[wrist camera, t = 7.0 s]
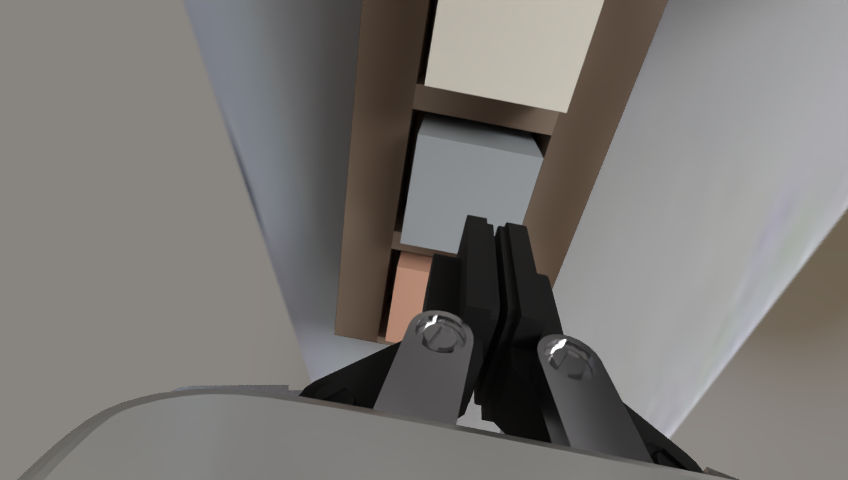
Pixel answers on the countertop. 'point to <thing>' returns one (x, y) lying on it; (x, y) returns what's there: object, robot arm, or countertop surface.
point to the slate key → (467, 179)
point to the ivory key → (512, 49)
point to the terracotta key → (407, 293)
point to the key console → (410, 99)
